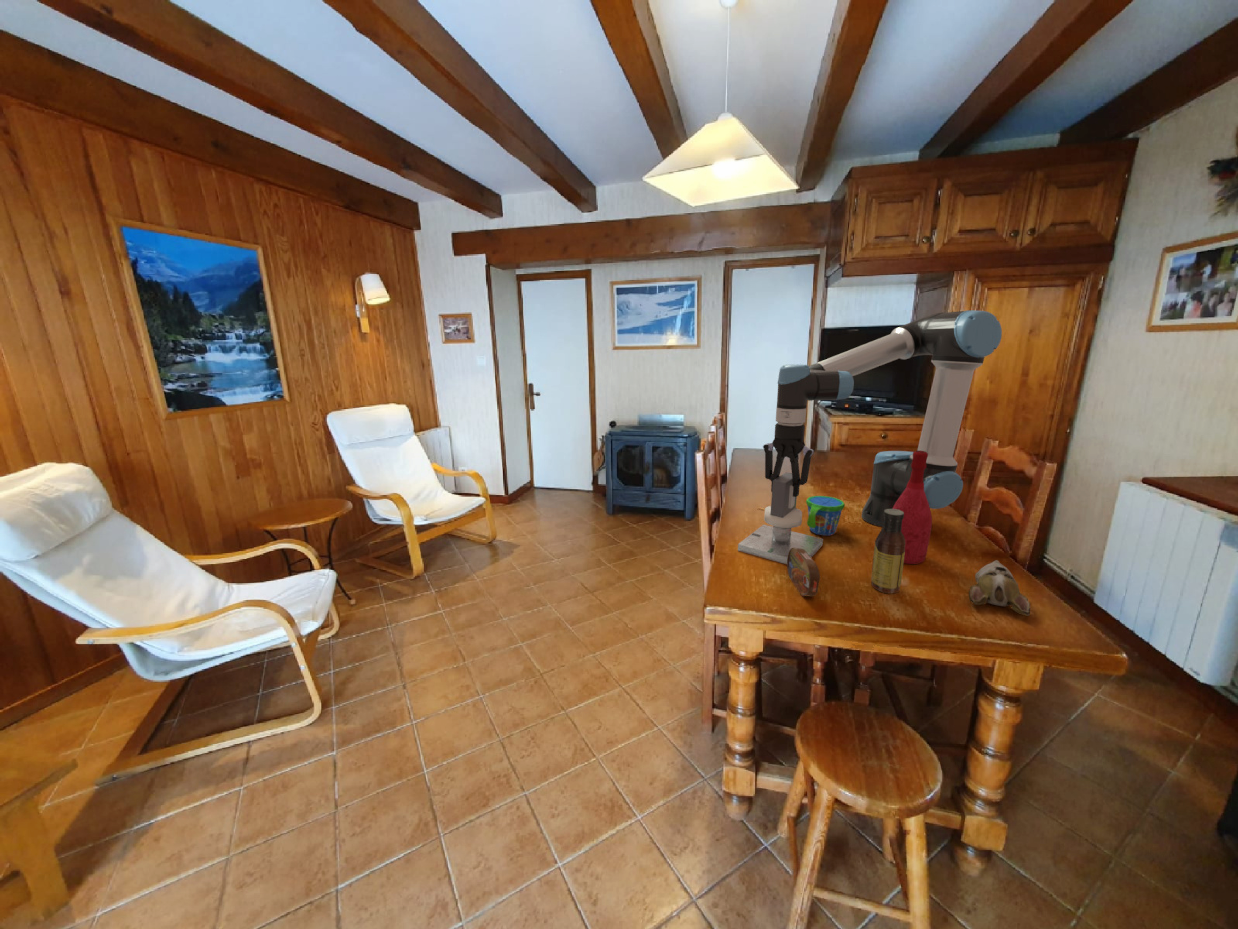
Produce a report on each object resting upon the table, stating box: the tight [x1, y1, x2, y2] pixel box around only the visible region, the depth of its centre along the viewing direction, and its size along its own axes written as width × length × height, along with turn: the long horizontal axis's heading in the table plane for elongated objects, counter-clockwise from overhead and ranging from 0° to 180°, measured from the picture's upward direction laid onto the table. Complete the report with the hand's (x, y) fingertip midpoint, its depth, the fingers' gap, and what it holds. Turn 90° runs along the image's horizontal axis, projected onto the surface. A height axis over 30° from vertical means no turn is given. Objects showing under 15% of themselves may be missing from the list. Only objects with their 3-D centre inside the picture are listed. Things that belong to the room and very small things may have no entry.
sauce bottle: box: [870, 509, 906, 594], centre depth 110 cm, size 7×6×20 cm
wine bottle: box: [892, 450, 933, 565], centre depth 123 cm, size 10×10×30 cm
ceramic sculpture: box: [968, 559, 1031, 617], centre depth 105 cm, size 11×9×15 cm
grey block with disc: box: [756, 471, 803, 529], centre depth 131 cm, size 12×10×13 cm
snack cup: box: [805, 495, 846, 537], centre depth 144 cm, size 16×10×10 cm
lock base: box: [737, 524, 824, 565], centre depth 134 cm, size 18×18×8 cm
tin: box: [786, 548, 821, 597], centre depth 113 cm, size 15×3×8 cm, turn 178°
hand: (783, 505), depth 131 cm, fingers closed on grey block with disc, 3 cm apart
